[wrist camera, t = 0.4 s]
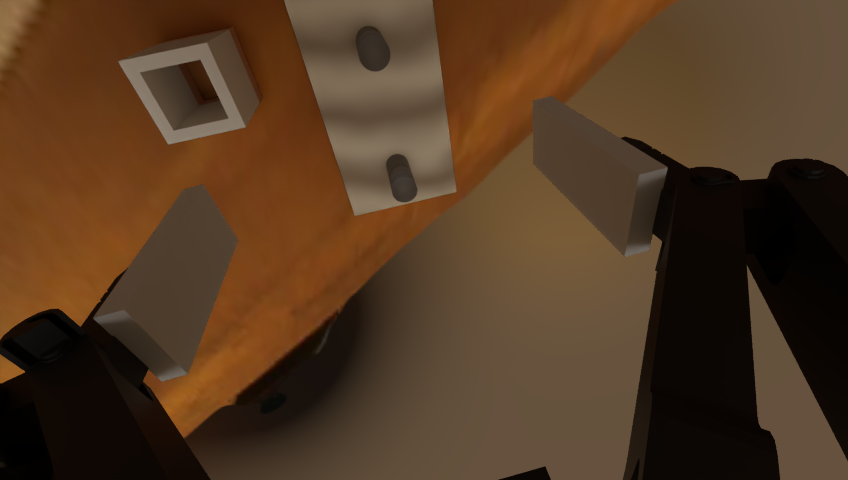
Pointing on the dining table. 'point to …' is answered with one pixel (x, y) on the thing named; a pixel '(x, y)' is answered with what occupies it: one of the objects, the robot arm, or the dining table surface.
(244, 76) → the sleeve
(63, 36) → the dining table surface
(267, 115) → the dining table surface
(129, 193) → the dining table surface
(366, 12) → the pin board
